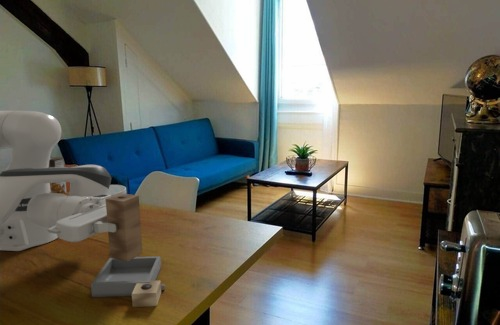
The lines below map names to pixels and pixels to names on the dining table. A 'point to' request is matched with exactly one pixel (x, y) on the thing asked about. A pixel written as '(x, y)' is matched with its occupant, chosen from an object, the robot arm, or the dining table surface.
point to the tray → (125, 276)
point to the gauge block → (147, 293)
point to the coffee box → (57, 163)
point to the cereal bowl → (116, 190)
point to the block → (124, 226)
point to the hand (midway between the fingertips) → (127, 222)
